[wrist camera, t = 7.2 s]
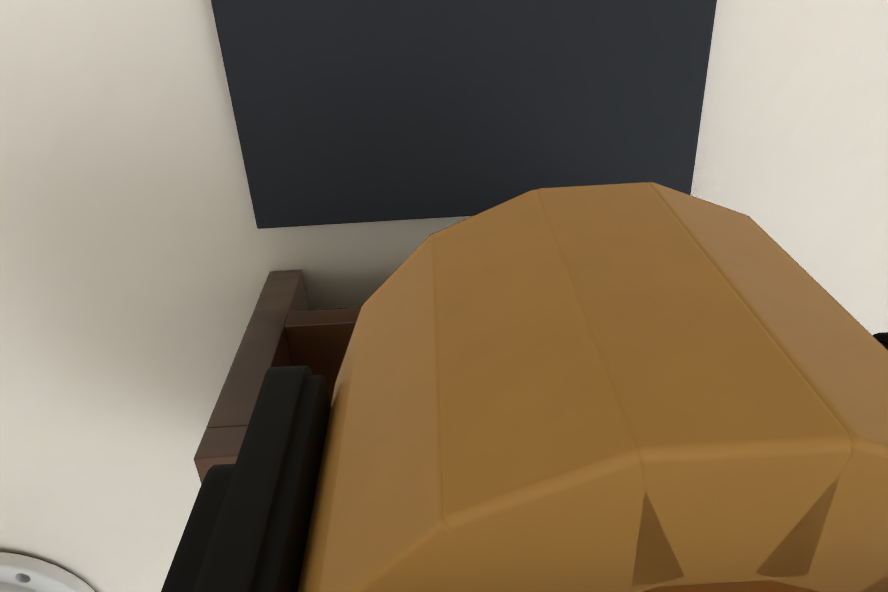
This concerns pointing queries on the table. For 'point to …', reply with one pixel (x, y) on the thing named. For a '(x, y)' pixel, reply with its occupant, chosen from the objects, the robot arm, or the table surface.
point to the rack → (274, 359)
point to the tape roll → (604, 412)
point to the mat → (458, 101)
